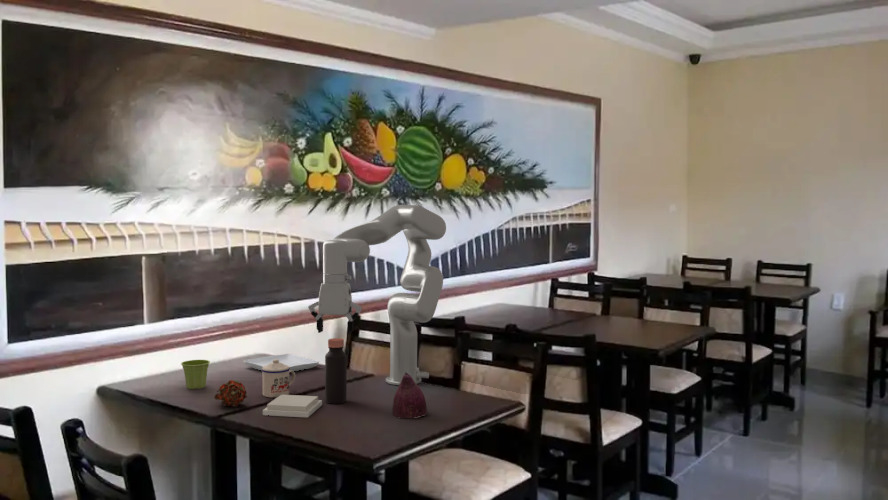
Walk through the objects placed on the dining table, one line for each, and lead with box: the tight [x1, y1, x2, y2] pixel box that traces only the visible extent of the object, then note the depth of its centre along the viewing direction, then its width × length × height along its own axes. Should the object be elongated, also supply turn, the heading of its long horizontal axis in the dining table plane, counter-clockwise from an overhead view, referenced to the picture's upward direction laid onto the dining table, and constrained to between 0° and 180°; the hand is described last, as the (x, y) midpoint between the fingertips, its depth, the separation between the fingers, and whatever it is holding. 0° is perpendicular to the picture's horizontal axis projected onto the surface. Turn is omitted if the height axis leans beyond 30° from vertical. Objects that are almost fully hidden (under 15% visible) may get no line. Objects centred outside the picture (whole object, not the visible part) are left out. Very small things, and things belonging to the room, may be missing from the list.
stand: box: [262, 394, 323, 419], centre depth 235 cm, size 14×14×3 cm
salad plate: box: [243, 353, 320, 372], centre depth 292 cm, size 21×21×3 cm
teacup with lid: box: [261, 359, 297, 399], centre depth 254 cm, size 12×9×12 cm
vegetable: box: [391, 372, 428, 419], centre depth 230 cm, size 10×10×15 cm
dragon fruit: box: [213, 379, 248, 408], centre depth 240 cm, size 8×8×12 cm
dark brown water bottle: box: [324, 337, 348, 405], centre depth 245 cm, size 7×7×20 cm
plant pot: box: [180, 359, 211, 390], centre depth 262 cm, size 9×9×9 cm
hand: (335, 332), depth 244 cm, fingers open, 9 cm apart
